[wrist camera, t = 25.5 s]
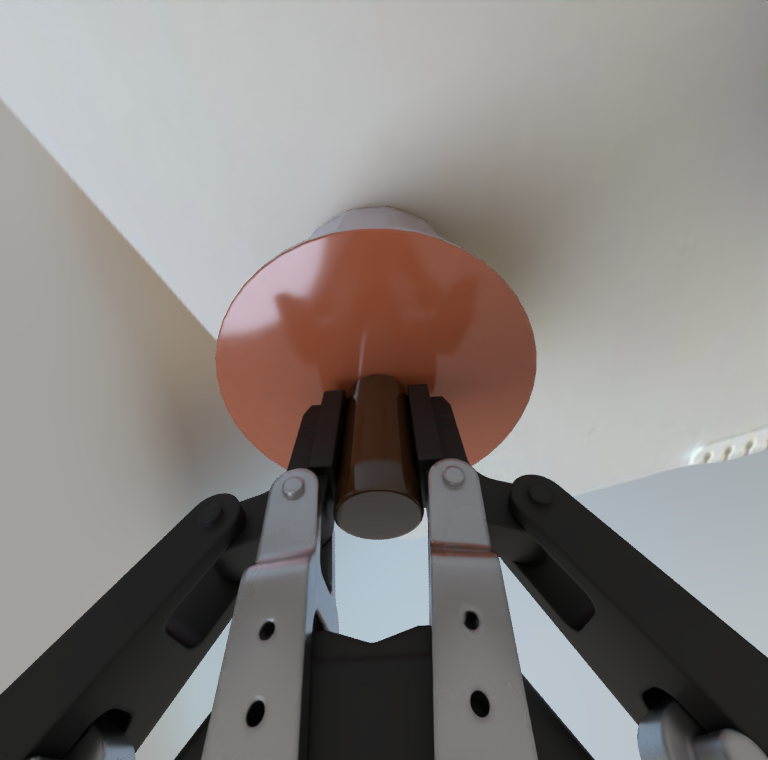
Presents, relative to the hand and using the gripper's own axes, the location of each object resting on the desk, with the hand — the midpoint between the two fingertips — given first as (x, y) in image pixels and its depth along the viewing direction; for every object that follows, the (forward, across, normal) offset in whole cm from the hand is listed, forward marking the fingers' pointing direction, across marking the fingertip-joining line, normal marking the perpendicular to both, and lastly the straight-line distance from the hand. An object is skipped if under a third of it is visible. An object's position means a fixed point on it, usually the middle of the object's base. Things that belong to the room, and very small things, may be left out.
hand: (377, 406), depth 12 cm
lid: (+1, 0, 0) cm, 1 cm away
